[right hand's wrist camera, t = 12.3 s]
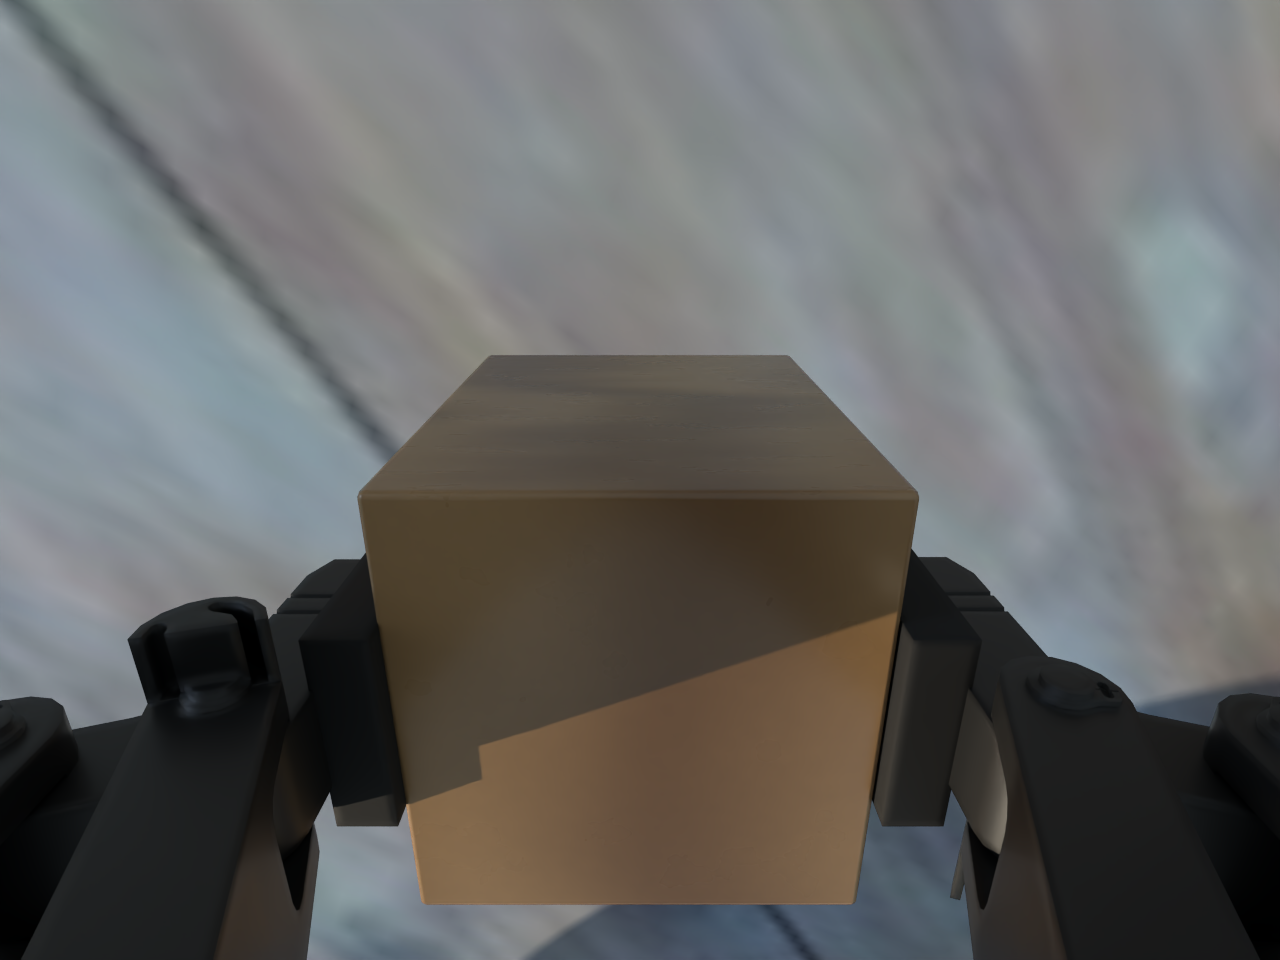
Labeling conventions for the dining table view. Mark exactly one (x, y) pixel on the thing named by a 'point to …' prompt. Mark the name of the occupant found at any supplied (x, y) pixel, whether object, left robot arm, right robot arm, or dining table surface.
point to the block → (638, 631)
